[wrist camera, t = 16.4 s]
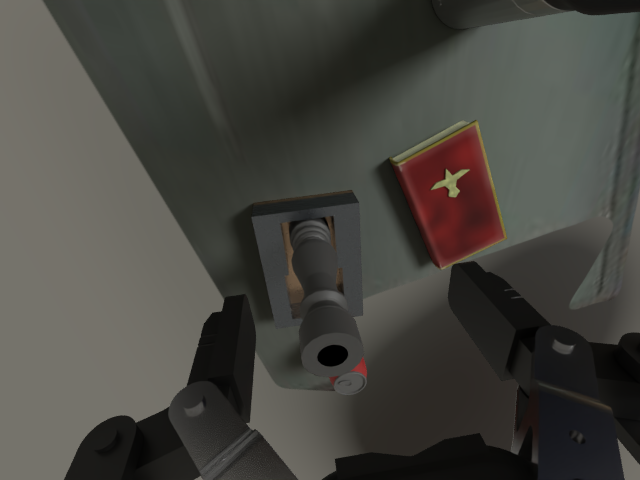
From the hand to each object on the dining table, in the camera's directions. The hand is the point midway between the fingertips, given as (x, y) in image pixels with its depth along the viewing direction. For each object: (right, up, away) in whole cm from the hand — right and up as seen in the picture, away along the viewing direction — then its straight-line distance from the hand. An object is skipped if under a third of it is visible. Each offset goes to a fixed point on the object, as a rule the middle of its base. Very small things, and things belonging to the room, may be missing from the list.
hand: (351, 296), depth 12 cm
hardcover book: (+19, +9, +40) cm, 45 cm away
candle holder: (-3, +4, +38) cm, 38 cm away
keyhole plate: (-3, 0, +41) cm, 42 cm away
